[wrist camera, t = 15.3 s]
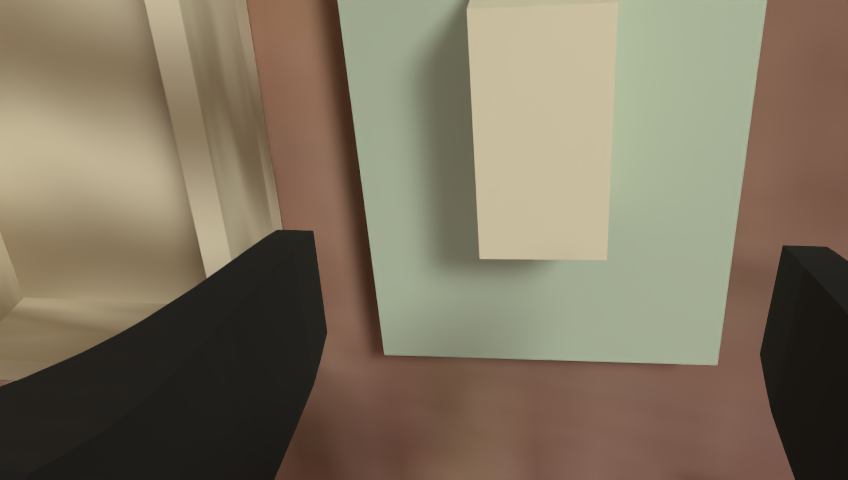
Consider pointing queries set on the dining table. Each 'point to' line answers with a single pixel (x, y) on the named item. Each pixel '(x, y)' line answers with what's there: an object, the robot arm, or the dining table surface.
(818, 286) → the robot arm
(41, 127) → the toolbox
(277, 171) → the dining table surface
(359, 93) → the lid
